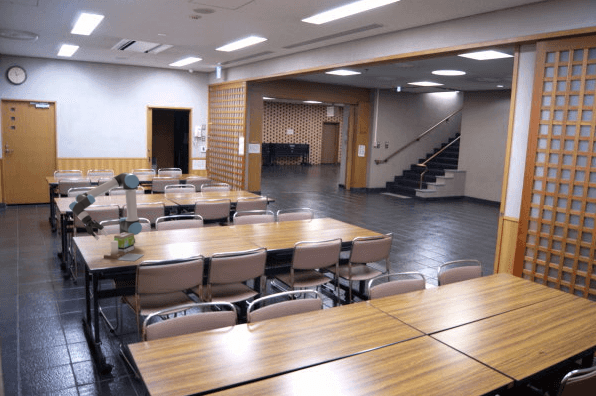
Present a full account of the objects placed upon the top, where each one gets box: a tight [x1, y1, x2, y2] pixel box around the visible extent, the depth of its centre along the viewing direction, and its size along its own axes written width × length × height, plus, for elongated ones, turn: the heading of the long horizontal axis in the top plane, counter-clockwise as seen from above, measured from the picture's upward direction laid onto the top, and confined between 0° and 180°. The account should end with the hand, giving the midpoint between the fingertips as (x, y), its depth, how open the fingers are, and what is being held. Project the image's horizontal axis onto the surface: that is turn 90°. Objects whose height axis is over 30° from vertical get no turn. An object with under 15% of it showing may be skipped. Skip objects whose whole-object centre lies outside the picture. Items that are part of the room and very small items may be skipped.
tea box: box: [113, 232, 135, 254], centre depth 392 cm, size 15×10×15 cm, turn 168°
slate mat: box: [116, 252, 145, 262], centre depth 375 cm, size 18×14×1 cm
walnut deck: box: [103, 251, 126, 260], centre depth 377 cm, size 14×11×2 cm
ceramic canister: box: [110, 240, 118, 254], centre depth 376 cm, size 6×6×10 cm
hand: (102, 237), depth 375 cm, fingers open, 13 cm apart
